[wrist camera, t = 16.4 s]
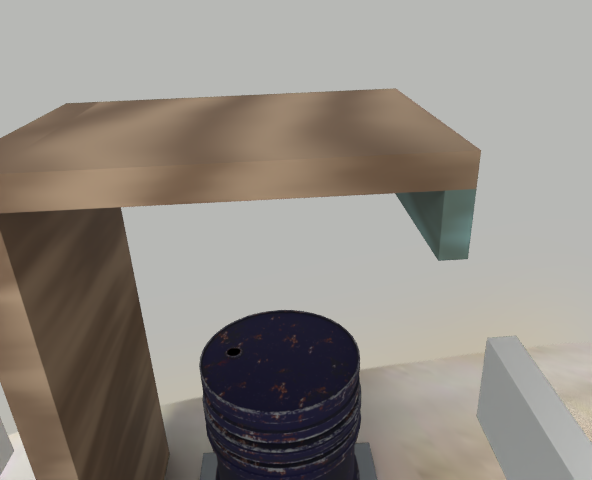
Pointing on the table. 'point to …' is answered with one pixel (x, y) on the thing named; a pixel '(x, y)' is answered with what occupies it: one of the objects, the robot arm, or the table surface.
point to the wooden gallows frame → (167, 191)
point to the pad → (361, 452)
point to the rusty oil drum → (282, 398)
